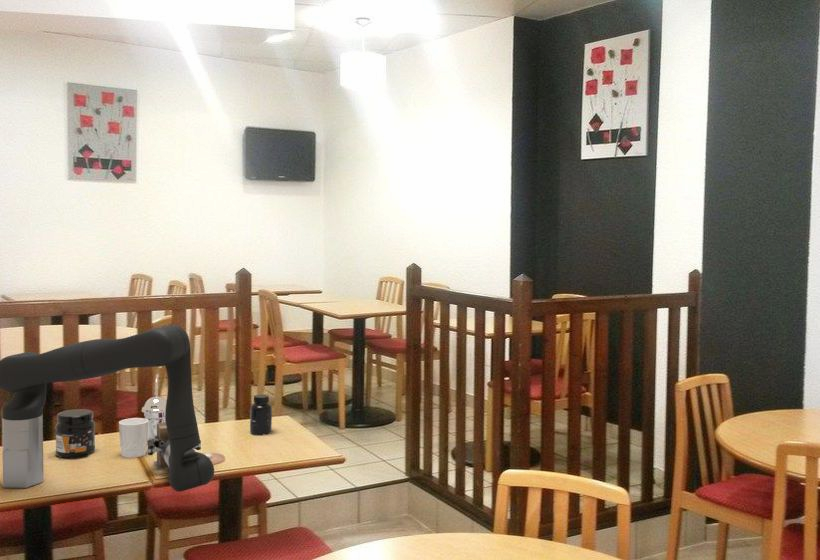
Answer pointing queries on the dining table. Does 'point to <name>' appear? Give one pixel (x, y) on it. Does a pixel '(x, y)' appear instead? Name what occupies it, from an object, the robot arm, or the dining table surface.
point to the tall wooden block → (162, 434)
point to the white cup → (133, 437)
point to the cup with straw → (154, 412)
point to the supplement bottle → (260, 415)
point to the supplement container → (75, 433)
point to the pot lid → (215, 457)
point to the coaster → (158, 466)
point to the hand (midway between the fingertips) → (169, 438)
